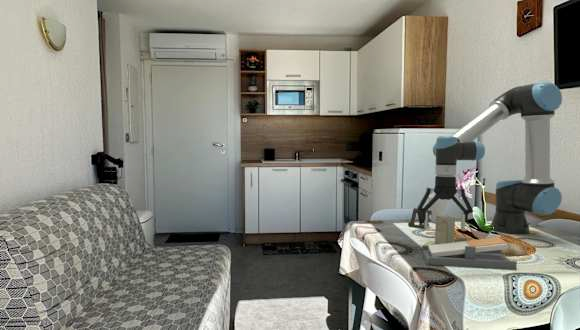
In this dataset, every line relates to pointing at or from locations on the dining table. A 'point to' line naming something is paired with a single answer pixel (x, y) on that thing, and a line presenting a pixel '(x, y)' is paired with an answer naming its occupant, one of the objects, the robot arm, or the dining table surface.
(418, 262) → the dining table surface
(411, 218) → the portable electronic device stand
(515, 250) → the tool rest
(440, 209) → the foam cup
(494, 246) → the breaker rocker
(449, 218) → the skincare box
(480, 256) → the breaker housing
